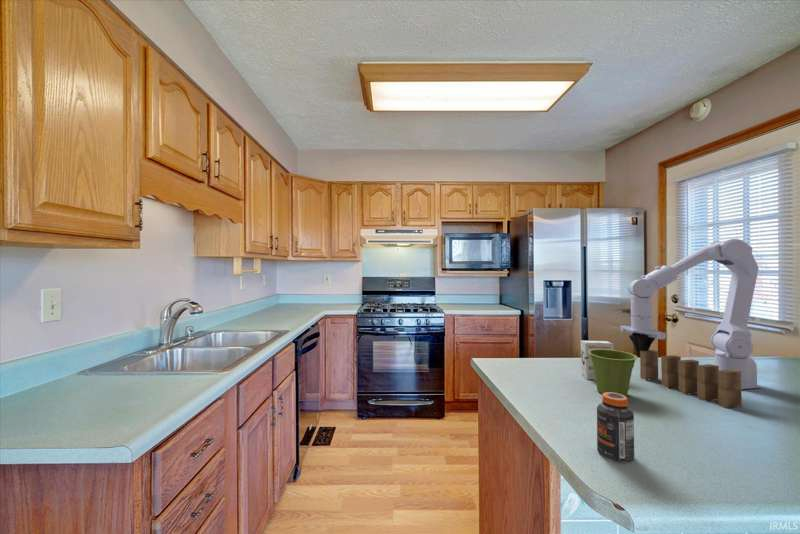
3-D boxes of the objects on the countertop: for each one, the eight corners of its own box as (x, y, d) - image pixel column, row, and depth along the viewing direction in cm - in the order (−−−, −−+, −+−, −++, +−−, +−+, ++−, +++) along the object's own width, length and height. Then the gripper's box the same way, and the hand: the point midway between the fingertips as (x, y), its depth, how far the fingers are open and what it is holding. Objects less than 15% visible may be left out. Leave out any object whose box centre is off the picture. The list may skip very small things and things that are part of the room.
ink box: (608, 376, 111) (608, 340, 111) (615, 380, 106) (614, 343, 106) (580, 374, 112) (580, 339, 112) (586, 379, 107) (585, 342, 108)
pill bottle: (590, 447, 66) (589, 390, 66) (618, 446, 66) (617, 389, 66) (611, 465, 60) (611, 401, 60) (642, 463, 60) (641, 400, 60)
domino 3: (692, 390, 97) (692, 359, 97) (699, 392, 95) (698, 361, 95) (678, 391, 96) (678, 360, 96) (685, 394, 94) (684, 362, 94)
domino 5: (733, 403, 87) (732, 369, 87) (741, 406, 85) (741, 371, 86) (718, 405, 86) (717, 370, 86) (726, 408, 84) (725, 372, 84)
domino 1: (653, 377, 109) (652, 350, 109) (658, 379, 107) (658, 351, 107) (640, 378, 108) (640, 350, 108) (645, 380, 106) (645, 352, 106)
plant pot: (592, 398, 92) (591, 356, 92) (585, 384, 103) (585, 347, 103) (643, 404, 87) (643, 361, 87) (631, 389, 98) (631, 350, 98)
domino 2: (675, 384, 102) (674, 355, 102) (681, 386, 100) (680, 356, 100) (661, 386, 101) (661, 356, 101) (667, 388, 99) (667, 357, 99)
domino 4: (711, 396, 92) (711, 364, 92) (719, 399, 90) (718, 365, 90) (697, 398, 91) (696, 365, 91) (704, 400, 89) (704, 367, 89)
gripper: (612, 313, 116) (613, 352, 116) (652, 319, 102) (653, 363, 102) (629, 313, 118) (630, 351, 118) (670, 318, 104) (671, 362, 103)
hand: (642, 357), depth 110 cm, fingers closed
